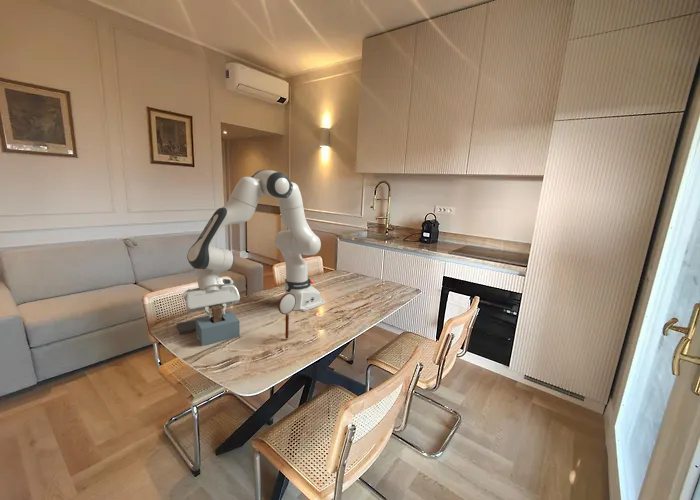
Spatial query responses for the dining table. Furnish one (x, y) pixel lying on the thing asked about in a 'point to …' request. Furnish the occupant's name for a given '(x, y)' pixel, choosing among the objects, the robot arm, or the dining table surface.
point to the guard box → (217, 329)
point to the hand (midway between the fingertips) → (217, 316)
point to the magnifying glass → (287, 308)
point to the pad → (186, 326)
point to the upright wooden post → (217, 313)
